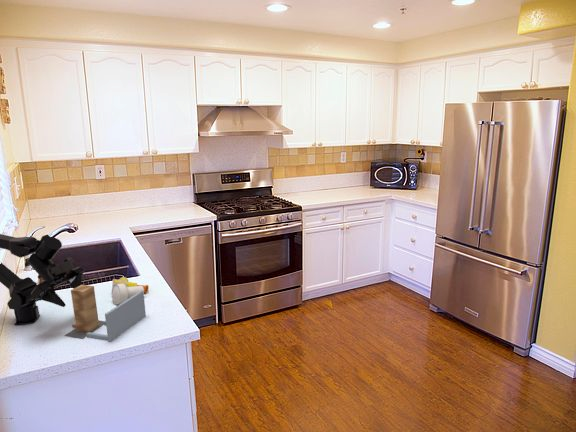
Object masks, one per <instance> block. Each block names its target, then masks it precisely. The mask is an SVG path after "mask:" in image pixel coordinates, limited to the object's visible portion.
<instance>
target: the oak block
mask: <svg viewBox="0 0 576 432" xmlns="http://www.w3.org/2000/svg"><path fill="white" fill-rule="evenodd" d="M70 294H71V302H72V308H73V315H74V321H75V324H74V323H72V324H71V327H73V328H76V330H77V331H79V332H86V333H88V332H91V331H92V330H94V329H95V328H97V327H98V326H99V321H98V320H99V314H98V307H97V299H96V292H95V286H94V285H90V284H89V285H88V284H83V285H80V286H78V287H76V288H74V289H73V288H71V290H70Z"/></svg>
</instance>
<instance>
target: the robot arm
mask: <svg viewBox="0 0 576 432" xmlns="http://www.w3.org/2000/svg"><path fill="white" fill-rule="evenodd" d="M62 246H63V243H62V241H61V240H60V239H58V238H56V237H54V236H50V235H49V234H45V235H42V236H41V237H40V239H37V238H36V237H35V236H23V237H22V236H21V237H15V236H10V235H7V234H1V233H0V249H3V250H7V251H9V252H10V254H11V255H13V256H15V257H18V258H25V257H27V256H29V257H27V258H25V259H24V261H25V263H24V267H25V268H28V267H30V266H31V267H32V269H33V270H34V271H35V272H36V273H37V274H38V275H37V278H38V280H40V279H42V280H43V282H41V283H39V284H38V282H36V281H34V280H33V279H32V278H31V277H26V278H20V277H19V276H18V275H17V274H16V273H15V272H13V271H12V270H11V269H9V268H8V266H6V265H5V264H4V263H3V262H1V264H0V283H1V284H2V285H3V286H4V287H5V288H7V289H8V294H9V297H10V299H9V300H8V302H7V306H8V309H9V310H13V312H14V317H15V322H14V324H13V325H14V326H17V325H18V326H20V325H27V324H34V323H36V322H37V320H38V319H39V317H40V316H41V314H40V310H39V305H37V302H40V301H44V302H47V303H50V304H53V305H56V306H59V307H62V308H65V307H66V303H65V302H64V300H63V299H62V298H61V297H60V296H59V295H58V293H56V289H55V288H56V287H57V286H60V285H61V284H64V283H68V284H69V287H70V288H71V289H74V288H76V287H78V286H80V285H84V284H83V282H82V277H83V275H84V273H85V270H84V269H83V268H82V267H81V266H77V267H74V266H75V265H76V261H75V260H74V259H73V258H72V257H71V256H70V257H66V258H65V259H63V262H62V263H61V262H60V263H58V262H53V261H52V259H54V258H55V256H56V255H57V253H58V252H59V251H60V249H61V248H62Z"/></svg>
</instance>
